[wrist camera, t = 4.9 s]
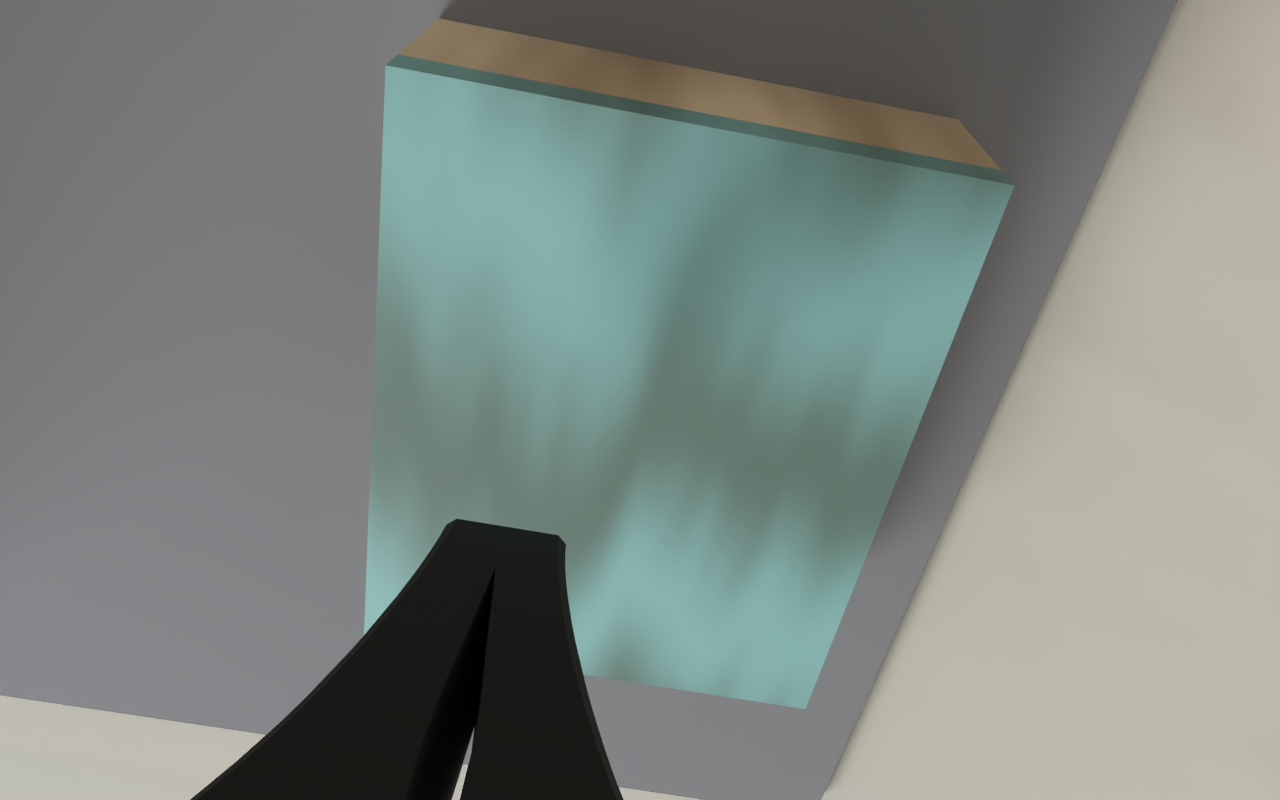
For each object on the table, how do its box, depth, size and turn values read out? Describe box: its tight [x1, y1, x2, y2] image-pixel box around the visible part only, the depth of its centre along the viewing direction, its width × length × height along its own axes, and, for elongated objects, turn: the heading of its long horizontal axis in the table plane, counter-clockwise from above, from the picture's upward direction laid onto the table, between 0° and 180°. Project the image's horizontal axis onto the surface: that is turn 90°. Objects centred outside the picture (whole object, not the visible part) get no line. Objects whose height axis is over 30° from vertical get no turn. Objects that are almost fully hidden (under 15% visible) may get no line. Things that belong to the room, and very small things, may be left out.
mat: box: [0, 0, 1177, 800], centre depth 17 cm, size 24×20×1 cm
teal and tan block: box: [364, 18, 1015, 709], centre depth 16 cm, size 10×3×8 cm
